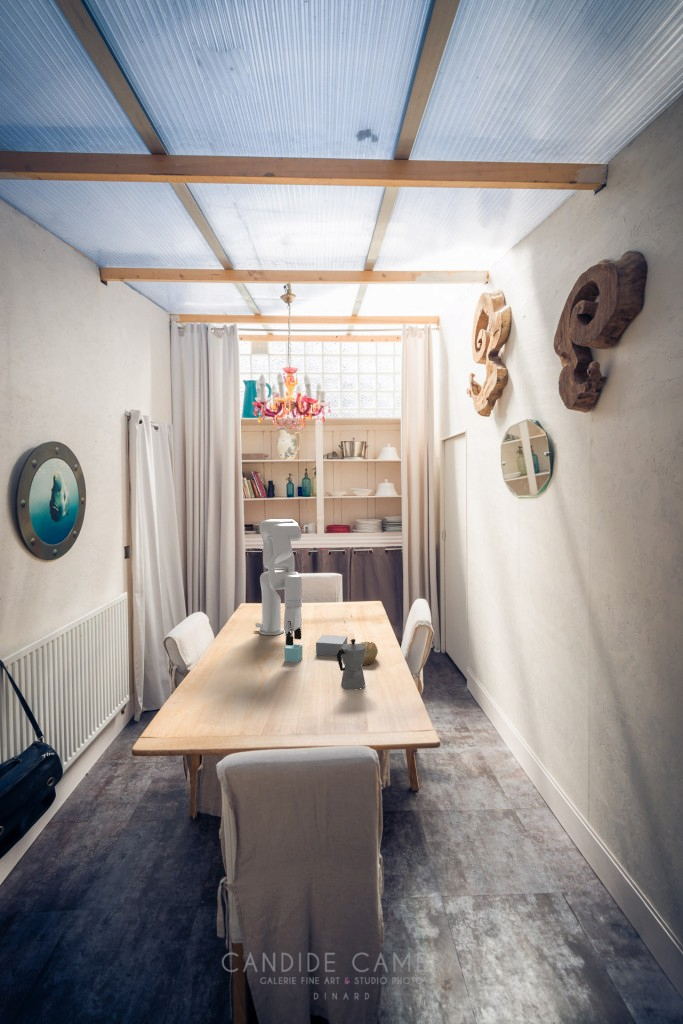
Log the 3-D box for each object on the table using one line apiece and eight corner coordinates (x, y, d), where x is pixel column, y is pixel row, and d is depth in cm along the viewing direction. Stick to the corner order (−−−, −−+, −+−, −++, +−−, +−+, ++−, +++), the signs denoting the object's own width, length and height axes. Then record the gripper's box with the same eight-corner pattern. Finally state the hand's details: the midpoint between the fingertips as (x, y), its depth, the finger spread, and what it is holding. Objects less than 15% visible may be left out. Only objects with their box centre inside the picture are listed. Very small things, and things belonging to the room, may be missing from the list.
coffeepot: (355, 677, 212) (355, 633, 210) (373, 683, 205) (373, 638, 204) (328, 688, 200) (328, 641, 199) (346, 695, 194) (346, 647, 193)
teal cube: (284, 661, 231) (284, 647, 230) (289, 657, 236) (289, 643, 236) (297, 662, 229) (297, 649, 229) (302, 658, 235) (302, 644, 234)
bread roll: (377, 655, 239) (377, 637, 238) (377, 666, 224) (377, 648, 224) (356, 654, 240) (356, 637, 239) (354, 666, 225) (354, 647, 224)
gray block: (316, 655, 239) (316, 642, 239) (322, 647, 251) (322, 634, 250) (342, 657, 236) (342, 644, 236) (347, 648, 248) (347, 636, 248)
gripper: (292, 598, 240) (292, 636, 241) (277, 607, 224) (278, 647, 224) (308, 599, 238) (308, 637, 239) (294, 607, 222) (294, 648, 222)
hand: (293, 642), depth 232 cm, fingers open, 9 cm apart
